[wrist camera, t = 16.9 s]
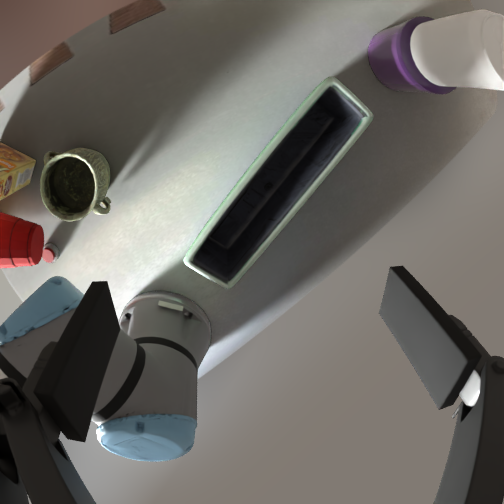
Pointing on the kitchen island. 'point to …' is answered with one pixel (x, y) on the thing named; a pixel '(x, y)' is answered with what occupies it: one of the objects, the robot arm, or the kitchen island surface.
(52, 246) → the push button
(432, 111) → the kitchen island surface
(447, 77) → the beverage can
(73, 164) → the vessel
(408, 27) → the jar
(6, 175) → the candy box
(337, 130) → the planter
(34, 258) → the plastic cup
